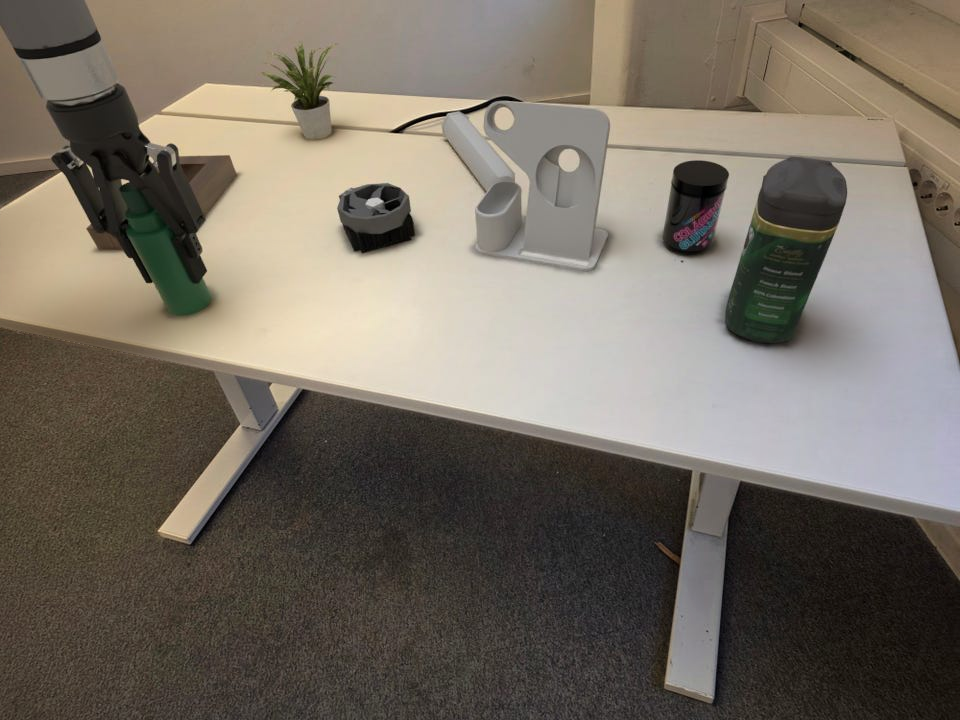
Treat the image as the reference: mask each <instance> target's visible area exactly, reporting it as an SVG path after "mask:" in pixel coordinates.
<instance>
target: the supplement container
mask: <svg viewBox="0 0 960 720" xmlns="http://www.w3.org/2000/svg"><path fill="white" fill-rule="evenodd" d="M729 177H730V173H729V170H728V169H727V168H725V166H723V165H721V164H719V163H717V162H714V161H709V160H699V159H698V160H696V159H694V160H693V159H692V160H685V161H683V162H680V163H679V164H677V165H676V166H674V168H673V171H672V176H671V181H670V190H669V196H668V202H667V207H666V212H665V213H666V214H665V219H664V223H663V230H662V236H661V237H662V241H663V244H664V245H665V247H666V248H667V249H669V250H670V251H672V252H674V253H676V254H679V255H686V256H695V255H699V254H702V253H705V252H707V251H708V250H709V249H710V248H711V246H712V245H713V243H714V239H715V234H716V230H717V226H718V223H719V218H720V214H721V210H722V206H723V201H724V197H725V193H726V191H727V190H726V189H727V186H728V181H729Z"/></svg>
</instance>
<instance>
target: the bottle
mask: <svg viewBox="0 0 960 720" xmlns="http://www.w3.org/2000/svg"><path fill="white" fill-rule="evenodd" d="M119 191H120V193H121V195H122V196H123V198H124V200H125V202H126V204H127V206H128V208H129V209H128V210H127V211H126V212H125V216H126V218H127V220H128V222H129V225H128V226H127V228H126V234H127V235H128V237H129V239H130V241H131V243H132V245H133V247H134V248H135V250H136V252H137V254H138V256H139V258H140V259H141V261H142V263H143V265H144V267H145V269H146V270H147V272H148V274H149V276H150V278H151V280H152V281H153V282H152V284H153V285H154V287H155V289H156V291H157V293H158V294H159V296H160V298H161V300H162V302H163V303H164V305H165V307H166V309H167V311H168V313H170V314H171V315H172V316H176V317H186V316H191V315H194V314H197V313H199V312H201V311H203V310H205V308H207V307H208V306H209V304H210V303H211V301H212V294H211V291H210V290H209V288H208V285H207V283H206V280H205V279H204V277H203V278H202V279H201V281H200V282H199V284H193V283H192V281H191V279H190V276H189V274H188V272H187V270H186V268H185V266H184V264H183V262H182V260H181V258H180V256H179V254H178V252H177V250H176V248H175V246H174V244H173V242H172V238H173V237H174V236H175V235H176V234H175V233H174V232H173V231H172V229H171V228H170V227H169V226H168V224H167V223H166V222H165V221H164V219H163V218H162V217H161V216H160V214H159V213H158V212H157V211H156V209H155V208H154V207H153V206H152V204H151V203H150V202H149V201H148V199H147V198H146V197H145V196H144V194H143V193H142V192H141V191H140V190H137V189H135V188H134V187H133V186H132V184H131V183H130V182H129V181H127V182H126V183H122V186H121V187H120V188H119Z"/></svg>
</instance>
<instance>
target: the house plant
mask: <svg viewBox="0 0 960 720" xmlns="http://www.w3.org/2000/svg"><path fill="white" fill-rule="evenodd" d="M337 45H339V42H337V43H333V44H331V45H329V46H327V47H326V48H325V49H324V50H323V51H322V53H321V54H320V56H319V58H318V60H317V64H316V69H315V66H314V54H315V52H317V51H319V50H321V49H322V47H318V48H316V49H314V50H313V49H311V50H310V51H309V55H308V66H307V65H306V57H305V56H306V55H305V47H304V45H303V41H300V42H299V45H298V48H296V47H294V50H295V52H296V55H297V57H296V58H297V61H298V64H299V67H300V69H299V68H298V66H297V65H296V64H295V63H294V61H293V60H292V59H290V58H289V57H288V56H287V55H285V53H282V52H281V51H278V53H279V54H277V53H273V52H267V53H268V54H269V55H273V56H274V57H276V58H275V59H277V60H280V61H281V62H282V63H283V64H284V65H285V66H286V67H287V69H284V70H283V69H281V68H279V67H277V66H276V65H274V64H271V63H268V62H264V64H265V65H269V66H271V67H273V68H275V69H277V70H279V71H280V72H281V73H282V74H284V75H285V76H286V77H287V78H288V79H289V80H290V81H291V82H292V83H291V82H290V81H288V80H286V79H285V78H282V77H280V76H278V75H275V74H273V73H270V72H263V71H262V72H260V73H261V74H262V75H264V76H266V77H268V78H269V79H270V80H272V81H273V82H274V83H276V84H278V85H275V86H274V87H273V88H271V91H270V92H272V91H274V90H276V89H285V90H284V92H286V93H287V92H290V93H291V94H293V96H294V101H293V102H292V103H291V105H290V108H291V109H292V113H293V114H294V116H295V118H296V121H297V124H298V125H299V127H300V130H301V132H302V134H303V137H304V138H305V139H306V140H310V141H315V140H323V139H326V138H328V137H329V136H331V134H332V133H333V132H332V131H333V130H332V118H331V117H332V116H331V105H330V99H329V98H328V97H327V96H324V95H321V93H322V92H323V90H325V89H328V90H330V85H332V84H334V82H333V81H327V80H329V79H330V78H335V76H332V75H331V74H330V75H329V74H325V75H322V76H321V78H320V75H321V74H322V71H323V70H324V67H325V65H326V64H327V61H329V59H330V57H328V58H327V59H326V60H325V61H324V59H325V57H326V55H328V52H329V51H330V50H331V49H332V48H333V47H334V46H337ZM282 55H283V56H282ZM323 61H324V63H323ZM322 63H323V65H322ZM321 66H322V67H321ZM314 69H315V73H314ZM293 84H294V85H293Z"/></svg>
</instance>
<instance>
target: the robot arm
mask: <svg viewBox="0 0 960 720" xmlns="http://www.w3.org/2000/svg"><path fill="white" fill-rule="evenodd" d="M0 27H1V29H2V31H3V33H4V34H5V36H6V38H7V40H8V41H9V44H10V45H11V47H12V48H13V50H14V52H15V54H16V56H17V58H18V59H19V61H20V63H21V65H22V67H23V69H24V71H25V72H26V74H27V76H28V78H29V79H30V82H31V83H32V86H33V87H34V89H35V91H36V92H37V94H38V96H39V97H40V98H41V99H42V100H46V104H45V108H46V110H47V112H48V113H49V115H50V118H51V119H52V121H53V123H54V124H55V126H56V128H57V130H58V131H59V133H60V135H61V136H62V138H63V139H65V140H67V141H68V142H69V145H64V146H63V147H62V148H61V149H59V150H58V151H57V152H55V153H54V154H53V155H52V156H51V161H52V163H53V164H54V165H55V166H56V167H57V168H58V170H60V172H61V173H62V174H63V175H64V176H65V178H66V180H67V181H68V184H69V185H70V187H71V189H72V191H73V193H74V195H75V197H76V198H77V201H78V202H79V204H80V206H81V208H82V210H83V212H84V213H85V215H86V217H87V219H88V221H89V222H90V223H89V224H91V225H92V227H93V228H94V230H95V231H96V232H97V233H99V234H103V233H104V232H106V233H110V234H111V235H112V236H113V237H115V238H117V240H118V242H119V244H120V245H121V247H122V249H123V250H122V251H123V252H124V254H125V256H126V257H127V258H128V259H132V261H133V262H134V264H135V267H136V268H137V270H138V272H139V273H140V275H141V277H142V278H143V280H144V282H145V284H153V281H152V280H151V278H150V276H149V274H148V272H147V270H146V269H145V267H144V265H143V263H142V261H141V259H140V258H139V256H138V254H137V252H136V250H135V248H134V247H133V245H132V243H131V241H130V239H129V237H128V235H127V234H126V228H127V226H128V225H129V222H128V220H127V218H126V216H125V212H126V211H127V210H128V209H127V205H126V202H125V200H124V198H123V196H122V195H121V193H120V191H119V188H120V187H121V186H122V185H123V182H122V180H124V181H127V182H130V183H131V184H132V186H133V187H134V188H135V189H137V190H140V191H141V192H142V193H143V194H144V196H145V197H146V198H147V199H148V201H149V202H150V203H151V204H152V206H153V207H154V208H155V209H156V211H157V212H158V213H159V214H160V216H161V217H162V218H163V219H164V221H165V222H166V223H167V224H168V226H169V227H170V228H171V229H172V231H173V232H174V233H175V234H176V235H175V236H174V237H173V238H172V242H173V244H174V246H175V248H176V250H177V252H178V254H179V256H180V258H181V260H182V262H183V264H184V266H185V268H186V270H187V272H188V274H189V276H190V279H191V281H192V283H193V284H199V282H200V281H201V279H202V278H203V279H204V277H205V275H206V273H208V269H207V267H206V265H205V262H204V261H203V258H202V256H201V254H202V253H203V246H202V245H201V242H200V240H199V238H198V236H197V233H198V232H199V231H200V229H201V228H202V226H203V225H204V224H205V223H206V221H207V217H206V216H205V215H204V213H203V211H202V209H201V207H200V205H199V203H198V201H197V199H196V197H195V194H194V192H193V190H192V188H191V186H190V184H189V182H188V180H187V178H186V176H185V173H184V171H183V169H182V167H181V165H180V161H179V156H180V153H179V148H178V147H177V146H176V145H175V144H174V143H171V142H170V143H168V144H167V145H165V146H164V145H159V144H156V143H153V142H151V141H150V139H149V138H148V137H147V136H146V135H145V133H143V131H142V130H141V127H140V124H139V117H138V114H137V112H136V110H135V108H134V105H133V103H132V101H131V99H130V96H129V94H128V92H127V89H126V88H125V87H124V85H121V84H120V83H119V81H120V76H119V73H118V70H117V69H116V67H115V64H114V62H113V60H112V58H111V56H110V54H109V52H108V49H107V47H106V44H105V43H104V41H103V37H102V36H101V34H100V32H99V30H98V27H97V25H96V22H95V20H94V18H93V15H92V13H91V12H90V9H89V7H88V3H86V0H0ZM150 158H151V159H152V160H153V162H154V165H153V164H152V163H153V162H152V161H151V160H150ZM154 166H155V167H157V168H159V172H160V175H161V178H162V180H163V182H164V183H163V182H162V181H161V179H160V178H159V176H158V171H157V169H156V168H155V167H154ZM90 169H91V170H90ZM143 173H144V174H143ZM142 174H143V175H142ZM141 175H142V176H141ZM140 176H141V177H140ZM164 184H165V185H164ZM100 217H101V218H100Z"/></svg>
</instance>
